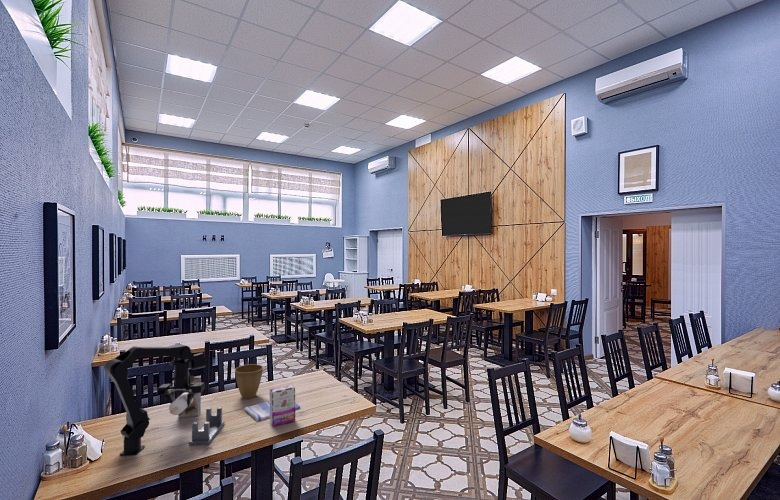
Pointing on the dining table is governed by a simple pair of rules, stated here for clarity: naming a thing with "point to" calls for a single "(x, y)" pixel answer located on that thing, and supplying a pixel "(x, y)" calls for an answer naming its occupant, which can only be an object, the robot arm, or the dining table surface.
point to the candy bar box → (282, 405)
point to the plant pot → (248, 379)
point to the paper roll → (179, 404)
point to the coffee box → (195, 405)
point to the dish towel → (261, 410)
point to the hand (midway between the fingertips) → (181, 407)
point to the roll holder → (207, 428)
